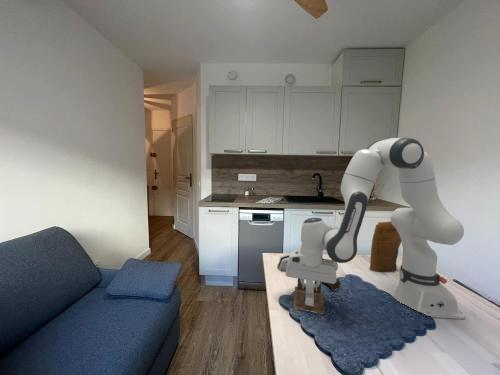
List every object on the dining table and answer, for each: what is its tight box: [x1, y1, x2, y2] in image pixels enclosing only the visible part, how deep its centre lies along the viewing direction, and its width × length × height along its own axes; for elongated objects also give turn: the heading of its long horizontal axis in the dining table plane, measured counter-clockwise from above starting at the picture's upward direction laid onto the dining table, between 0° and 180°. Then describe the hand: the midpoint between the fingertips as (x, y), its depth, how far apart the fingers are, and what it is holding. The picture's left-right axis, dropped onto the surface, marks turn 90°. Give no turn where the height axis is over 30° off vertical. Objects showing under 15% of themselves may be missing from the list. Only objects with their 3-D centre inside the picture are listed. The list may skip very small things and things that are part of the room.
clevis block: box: [292, 278, 326, 315], centre depth 91 cm, size 12×15×7 cm
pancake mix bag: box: [368, 221, 402, 273], centre depth 118 cm, size 7×19×28 cm, turn 97°
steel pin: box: [305, 280, 314, 306], centre depth 91 cm, size 3×16×3 cm, turn 165°
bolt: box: [323, 278, 341, 291], centre depth 105 cm, size 6×5×15 cm
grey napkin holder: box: [276, 253, 290, 271], centre depth 119 cm, size 17×5×10 cm, turn 100°
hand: (309, 289), depth 91 cm, fingers closed on steel pin, 3 cm apart
